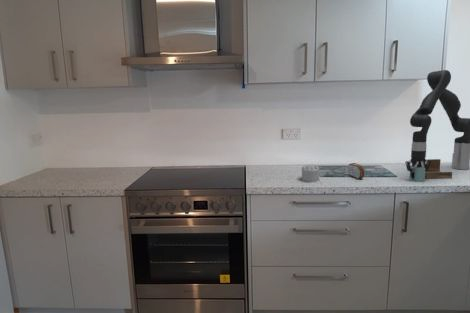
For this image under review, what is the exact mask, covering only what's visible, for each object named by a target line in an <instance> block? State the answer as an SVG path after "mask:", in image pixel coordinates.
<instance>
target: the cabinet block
mask: <svg viewBox="0 0 470 313" xmlns="http://www.w3.org/2000/svg"><path fill="white" fill-rule="evenodd" d="M411 166H412V164H410V167H411ZM413 167H414V166H413ZM410 174H411V172H410V171H409V175H410ZM409 180H412V181H414V182H416V183H417V182H418V183H422V182H425V181H426V179H425V168H424V167H415V171H414V179H412V178H411V177H410V176H409Z"/></svg>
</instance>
